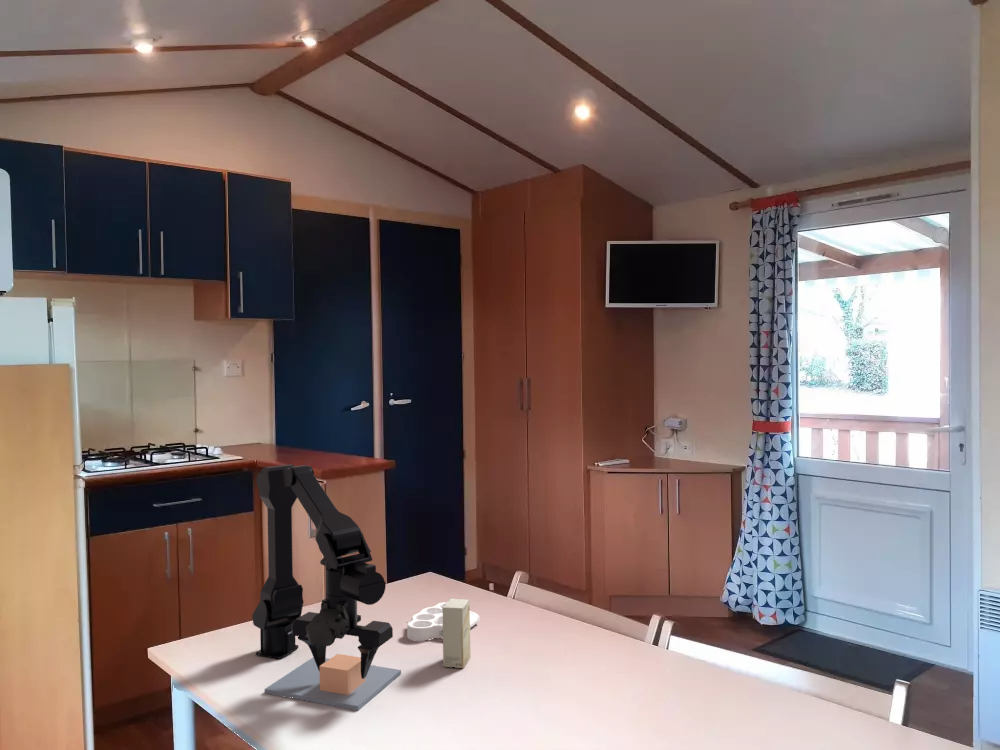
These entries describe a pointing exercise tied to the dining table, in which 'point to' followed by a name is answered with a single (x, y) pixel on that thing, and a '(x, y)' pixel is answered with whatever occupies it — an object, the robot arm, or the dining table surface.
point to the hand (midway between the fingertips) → (342, 674)
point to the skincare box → (456, 633)
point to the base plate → (307, 687)
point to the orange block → (341, 674)
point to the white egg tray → (431, 623)
